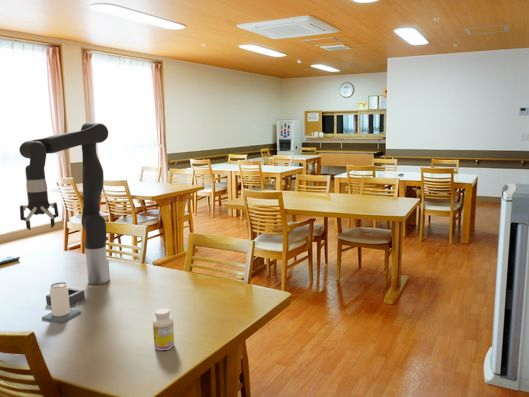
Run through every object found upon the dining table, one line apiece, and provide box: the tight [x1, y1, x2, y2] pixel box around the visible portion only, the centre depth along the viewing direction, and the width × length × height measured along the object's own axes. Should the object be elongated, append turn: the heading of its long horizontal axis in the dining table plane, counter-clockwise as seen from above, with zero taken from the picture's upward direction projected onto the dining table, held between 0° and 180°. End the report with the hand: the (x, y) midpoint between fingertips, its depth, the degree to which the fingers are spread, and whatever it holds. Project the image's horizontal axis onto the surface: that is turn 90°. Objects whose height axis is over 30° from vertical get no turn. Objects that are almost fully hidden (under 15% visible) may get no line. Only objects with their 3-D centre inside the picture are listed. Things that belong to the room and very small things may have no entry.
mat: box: [41, 308, 82, 324], centre depth 183 cm, size 10×10×1 cm
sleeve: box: [45, 287, 86, 307], centre depth 197 cm, size 11×11×4 cm
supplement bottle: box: [152, 307, 175, 351], centre depth 155 cm, size 7×7×13 cm
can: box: [49, 281, 71, 317], centre depth 182 cm, size 6×6×12 cm
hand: (41, 228), depth 193 cm, fingers open, 8 cm apart
